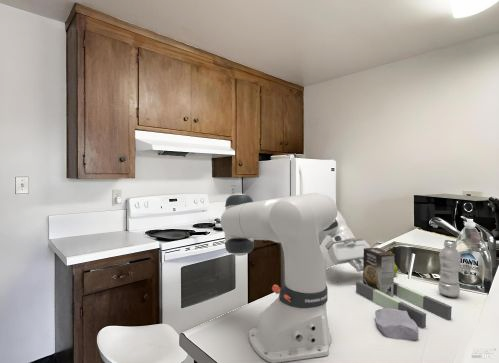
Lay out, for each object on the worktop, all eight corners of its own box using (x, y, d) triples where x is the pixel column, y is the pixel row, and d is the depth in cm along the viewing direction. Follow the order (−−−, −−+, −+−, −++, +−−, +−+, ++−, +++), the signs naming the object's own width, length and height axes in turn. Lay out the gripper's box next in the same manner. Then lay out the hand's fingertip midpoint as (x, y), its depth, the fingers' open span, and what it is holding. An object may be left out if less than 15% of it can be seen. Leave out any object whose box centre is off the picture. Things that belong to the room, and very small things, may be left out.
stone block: (383, 345, 77) (423, 342, 75) (380, 327, 77) (419, 323, 75) (372, 323, 88) (406, 320, 87) (369, 308, 89) (403, 304, 87)
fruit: (394, 279, 119) (394, 250, 118) (379, 274, 123) (379, 247, 123) (399, 275, 123) (400, 248, 122) (385, 271, 127) (386, 245, 127)
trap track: (422, 328, 81) (422, 314, 81) (355, 292, 105) (356, 281, 105) (451, 319, 86) (451, 306, 86) (381, 286, 110) (381, 276, 110)
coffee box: (361, 289, 108) (362, 248, 107) (375, 287, 110) (376, 246, 109) (379, 300, 99) (380, 255, 98) (394, 298, 101) (395, 253, 100)
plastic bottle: (464, 297, 101) (466, 242, 100) (451, 300, 99) (453, 244, 98) (446, 290, 107) (447, 238, 106) (433, 293, 105) (435, 240, 104)
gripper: (359, 242, 126) (376, 271, 118) (321, 246, 118) (337, 278, 110) (367, 234, 122) (385, 263, 113) (328, 238, 114) (345, 270, 105)
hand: (361, 270), depth 112 cm, fingers closed
